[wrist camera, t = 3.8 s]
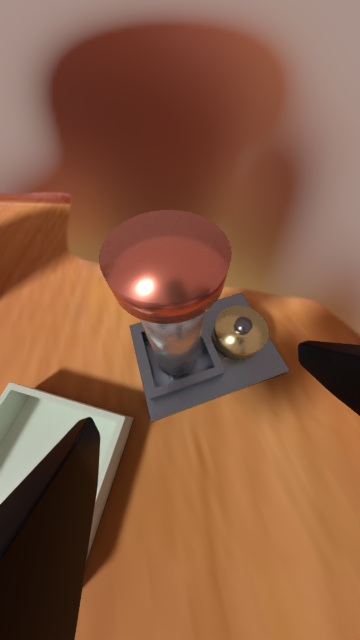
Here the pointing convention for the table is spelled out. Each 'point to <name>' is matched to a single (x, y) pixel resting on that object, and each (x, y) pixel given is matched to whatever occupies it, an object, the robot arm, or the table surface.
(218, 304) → the plate
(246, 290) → the table surface
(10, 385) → the tray
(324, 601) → the table surface
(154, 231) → the pin
